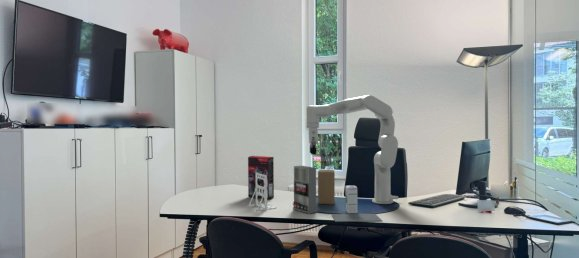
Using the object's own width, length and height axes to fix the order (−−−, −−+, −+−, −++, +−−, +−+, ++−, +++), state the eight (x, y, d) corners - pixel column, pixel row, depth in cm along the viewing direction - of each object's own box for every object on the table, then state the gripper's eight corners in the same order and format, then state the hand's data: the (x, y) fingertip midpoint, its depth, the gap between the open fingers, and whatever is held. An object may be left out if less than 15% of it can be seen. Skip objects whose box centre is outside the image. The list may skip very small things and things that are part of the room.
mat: (375, 214, 216) (375, 213, 216) (382, 221, 202) (382, 220, 202) (331, 215, 215) (331, 214, 215) (335, 221, 202) (335, 221, 202)
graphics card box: (247, 197, 264) (247, 156, 263) (253, 195, 270) (253, 155, 269) (268, 200, 255) (268, 157, 254) (274, 198, 261) (274, 156, 260)
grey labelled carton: (292, 209, 229) (292, 166, 228) (300, 207, 232) (300, 165, 231) (308, 214, 218) (307, 168, 217) (316, 212, 221) (316, 167, 220)
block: (334, 201, 250) (334, 169, 249) (334, 204, 240) (334, 171, 239) (318, 200, 251) (318, 169, 250) (318, 204, 241) (317, 171, 240)
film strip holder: (278, 208, 232) (278, 174, 231) (257, 211, 224) (257, 176, 224) (267, 203, 244) (267, 171, 243) (246, 206, 237) (246, 173, 236)
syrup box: (357, 213, 219) (357, 187, 219) (347, 213, 219) (347, 187, 218) (355, 210, 225) (355, 185, 224) (345, 210, 225) (345, 185, 224)
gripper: (320, 126, 234) (320, 155, 234) (317, 125, 251) (317, 152, 252) (307, 126, 234) (307, 155, 234) (305, 125, 251) (306, 152, 251)
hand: (313, 153), depth 243 cm, fingers open, 9 cm apart
